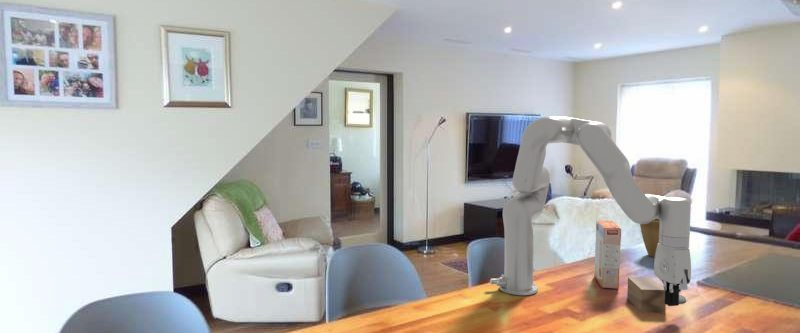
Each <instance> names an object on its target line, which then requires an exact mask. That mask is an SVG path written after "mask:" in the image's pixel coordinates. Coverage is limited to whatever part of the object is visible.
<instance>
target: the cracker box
mask: <svg viewBox="0 0 800 333" xmlns="http://www.w3.org/2000/svg"><path fill="white" fill-rule="evenodd" d="M595 225H596V226H595V252H594V253H595V254H594V274H593V275H594V279H596V281H597V283H598V284H599V286H600V287H601V289H612V290H613V289H615V290H619V286H620V268H621V267H620V266H621V263H620V262H621V245H622V244H621V243H622V242H621V241H622V228H621V226H619V225H618V224H616V223H615V222H614V221H613V220H601V219H600V220H596V223H595Z"/></svg>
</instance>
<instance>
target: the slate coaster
mask: <svg viewBox="0 0 800 333" xmlns="http://www.w3.org/2000/svg"><path fill="white" fill-rule="evenodd" d="M686 301H687V298H686V297H685V296H684V295H681V294H679V304H684V303H685V302H686Z"/></svg>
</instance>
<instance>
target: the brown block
mask: <svg viewBox="0 0 800 333" xmlns="http://www.w3.org/2000/svg"><path fill="white" fill-rule="evenodd" d="M665 291H666V290H664V286H663V285H661V284H660V283H658V282H657V281H656V280H655V279H654V278H652V277H642V276H641V277H638V276H637V277H636V276H635V277H634V276H627V292H626V293H627V294H626V296H627V297H626V298H627V300H628V301H630V303H631V304H632V305H634V307H635V308H636V309H637V310H638V311H639V312H640V313H659V314H660V313H661V314H665V313H666V310H667V308H666V307H667V305H666V304H665Z"/></svg>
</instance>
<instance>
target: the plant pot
mask: <svg viewBox="0 0 800 333" xmlns="http://www.w3.org/2000/svg"><path fill="white" fill-rule="evenodd" d="M639 225H640V232H641V236H642V240H643V244H644V246H645V250H646V252H647V254H648V257H652V258H655V253H656V248H657V245H658V243H659V228H660V220H659V219H654V220H652V221H651V222H649V223H647V224H639Z"/></svg>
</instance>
